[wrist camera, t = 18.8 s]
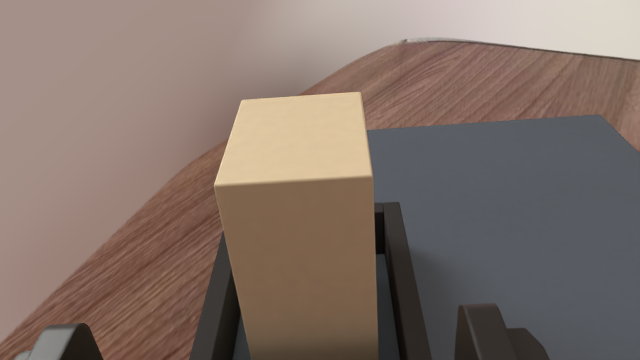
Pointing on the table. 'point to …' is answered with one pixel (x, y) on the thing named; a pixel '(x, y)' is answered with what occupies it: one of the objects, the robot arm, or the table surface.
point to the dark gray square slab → (489, 240)
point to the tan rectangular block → (302, 227)
